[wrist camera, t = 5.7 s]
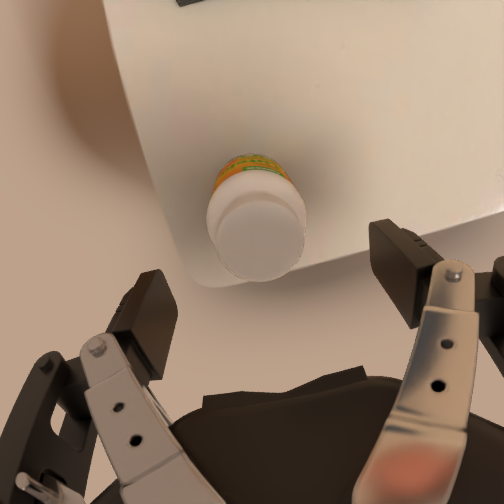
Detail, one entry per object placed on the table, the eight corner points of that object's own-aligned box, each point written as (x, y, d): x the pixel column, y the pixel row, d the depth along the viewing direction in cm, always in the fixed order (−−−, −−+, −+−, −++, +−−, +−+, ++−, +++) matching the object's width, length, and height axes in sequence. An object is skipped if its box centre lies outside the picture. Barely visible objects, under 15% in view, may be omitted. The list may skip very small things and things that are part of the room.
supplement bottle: (279, 145, 21) (310, 171, 12) (294, 213, 23) (326, 280, 14) (206, 163, 21) (183, 202, 12) (226, 229, 23) (219, 305, 15)
